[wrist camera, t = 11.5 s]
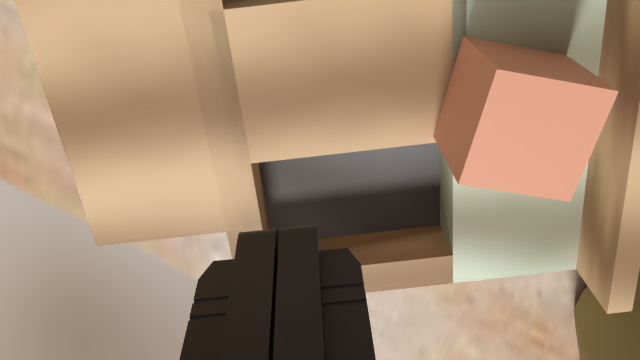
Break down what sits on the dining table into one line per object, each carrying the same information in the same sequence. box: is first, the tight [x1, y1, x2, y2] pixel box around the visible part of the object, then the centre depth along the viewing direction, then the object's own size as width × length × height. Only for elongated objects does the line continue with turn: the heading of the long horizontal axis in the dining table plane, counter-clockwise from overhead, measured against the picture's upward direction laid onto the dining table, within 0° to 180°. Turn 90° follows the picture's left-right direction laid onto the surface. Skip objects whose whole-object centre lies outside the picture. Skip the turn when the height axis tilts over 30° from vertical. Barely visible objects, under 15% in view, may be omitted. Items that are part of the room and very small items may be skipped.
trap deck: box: [14, 0, 640, 314], centre depth 22 cm, size 20×22×6 cm
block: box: [433, 36, 619, 202], centre depth 21 cm, size 4×4×4 cm
